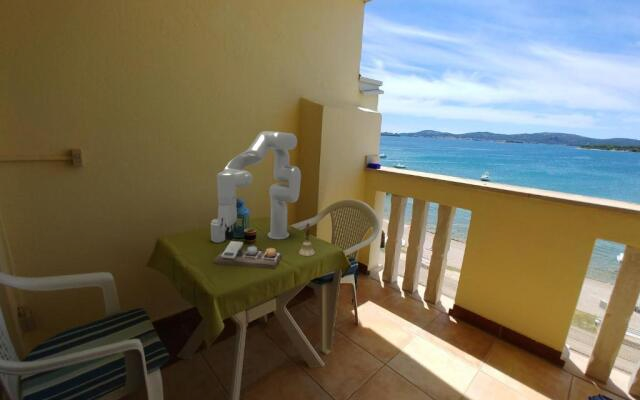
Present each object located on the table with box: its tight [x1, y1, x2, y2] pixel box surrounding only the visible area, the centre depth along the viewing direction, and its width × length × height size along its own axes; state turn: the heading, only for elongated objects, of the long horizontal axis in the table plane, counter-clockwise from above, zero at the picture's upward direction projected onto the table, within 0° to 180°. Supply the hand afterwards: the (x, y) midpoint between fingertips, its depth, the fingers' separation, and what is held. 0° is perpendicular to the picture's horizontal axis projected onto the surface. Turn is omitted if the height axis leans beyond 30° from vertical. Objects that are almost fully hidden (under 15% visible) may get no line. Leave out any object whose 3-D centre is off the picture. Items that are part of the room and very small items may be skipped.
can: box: [210, 218, 226, 244], centre depth 143 cm, size 8×8×12 cm
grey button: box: [246, 245, 258, 255], centre depth 124 cm, size 4×4×2 cm
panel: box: [213, 246, 282, 270], centre depth 124 cm, size 13×28×5 cm, turn 85°
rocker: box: [221, 240, 244, 259], centre depth 124 cm, size 11×6×1 cm, turn 175°
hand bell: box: [298, 222, 316, 257], centre depth 134 cm, size 8×8×16 cm
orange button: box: [265, 247, 277, 257], centre depth 123 cm, size 4×4×2 cm
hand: (229, 239), depth 119 cm, fingers closed
